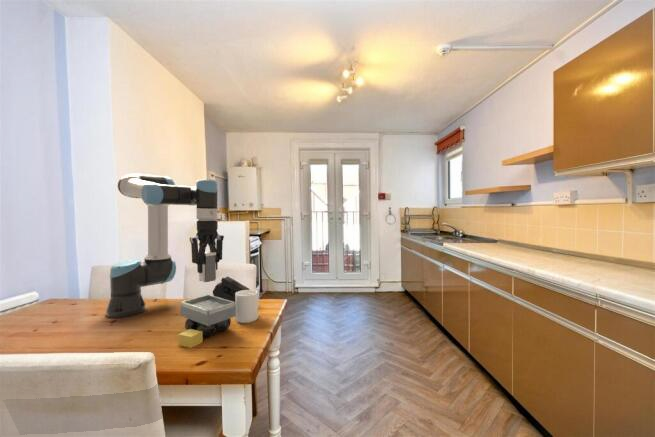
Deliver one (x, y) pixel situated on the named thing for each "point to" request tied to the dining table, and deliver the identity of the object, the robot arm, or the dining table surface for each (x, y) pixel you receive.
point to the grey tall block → (209, 266)
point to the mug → (246, 306)
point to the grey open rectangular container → (208, 314)
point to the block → (190, 338)
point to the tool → (228, 289)
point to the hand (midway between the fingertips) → (207, 279)
